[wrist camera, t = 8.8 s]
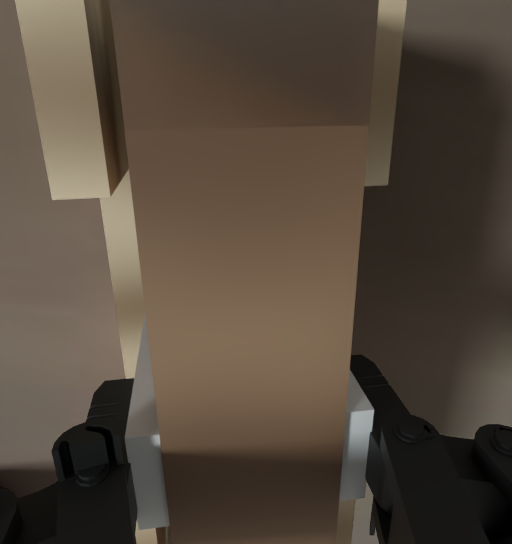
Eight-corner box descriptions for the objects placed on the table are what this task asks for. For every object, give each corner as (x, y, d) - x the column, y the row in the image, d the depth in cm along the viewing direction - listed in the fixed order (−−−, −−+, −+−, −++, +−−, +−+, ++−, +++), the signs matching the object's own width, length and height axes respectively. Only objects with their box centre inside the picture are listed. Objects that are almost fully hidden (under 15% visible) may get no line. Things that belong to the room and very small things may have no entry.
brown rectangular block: (143, 22, 12) (103, -54, 6) (283, 23, 13) (382, -45, 7) (190, 531, 20) (194, 739, 13) (278, 518, 20) (322, 713, 14)
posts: (86, 19, 17) (8, -41, 9) (311, 21, 18) (409, -30, 10) (144, 447, 25) (128, 609, 17) (298, 429, 26) (347, 572, 18)
